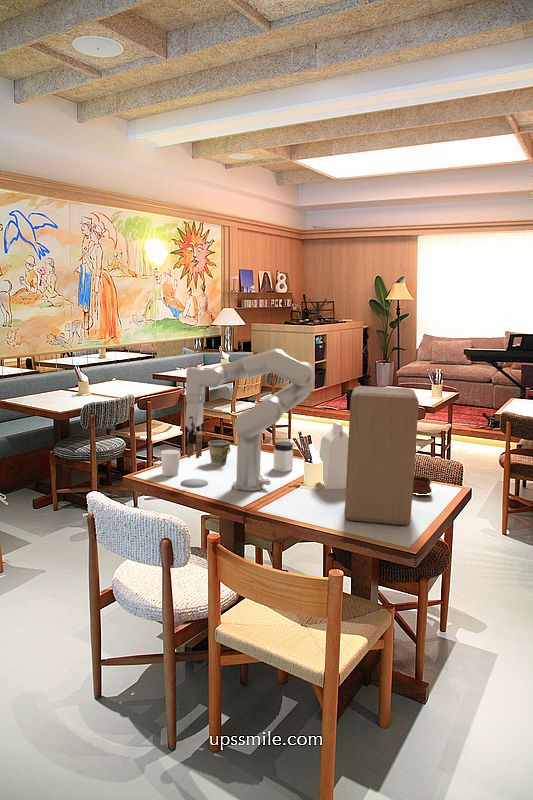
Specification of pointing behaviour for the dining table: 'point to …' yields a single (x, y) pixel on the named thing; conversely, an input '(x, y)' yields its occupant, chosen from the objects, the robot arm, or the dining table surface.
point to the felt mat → (194, 483)
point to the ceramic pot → (421, 486)
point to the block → (381, 454)
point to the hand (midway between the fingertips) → (194, 441)
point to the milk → (334, 457)
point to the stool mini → (198, 445)
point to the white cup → (170, 462)
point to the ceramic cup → (219, 451)
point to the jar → (283, 456)
